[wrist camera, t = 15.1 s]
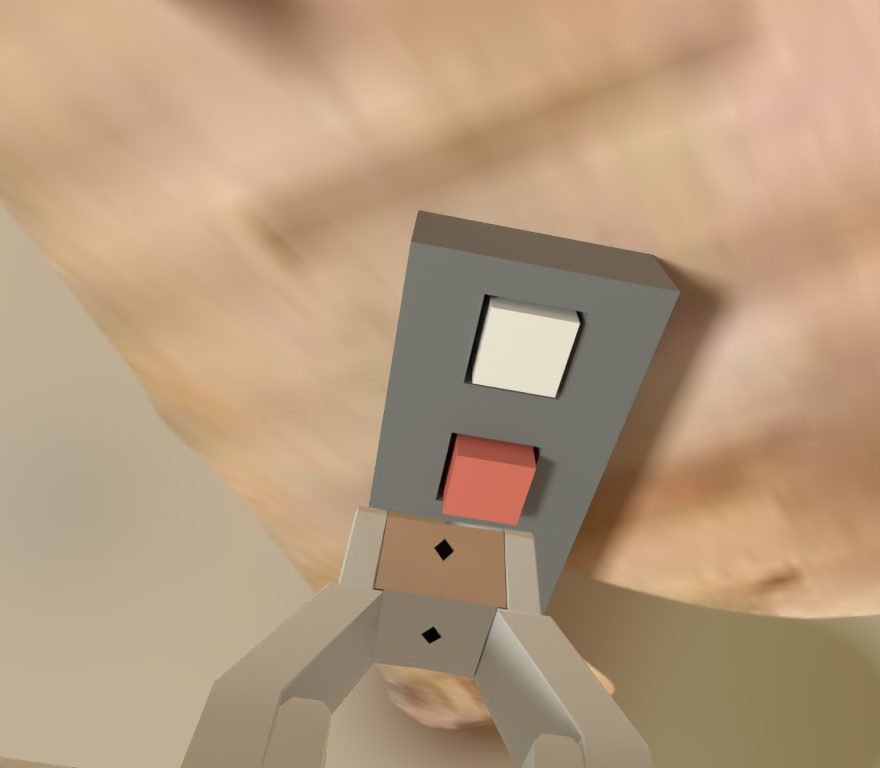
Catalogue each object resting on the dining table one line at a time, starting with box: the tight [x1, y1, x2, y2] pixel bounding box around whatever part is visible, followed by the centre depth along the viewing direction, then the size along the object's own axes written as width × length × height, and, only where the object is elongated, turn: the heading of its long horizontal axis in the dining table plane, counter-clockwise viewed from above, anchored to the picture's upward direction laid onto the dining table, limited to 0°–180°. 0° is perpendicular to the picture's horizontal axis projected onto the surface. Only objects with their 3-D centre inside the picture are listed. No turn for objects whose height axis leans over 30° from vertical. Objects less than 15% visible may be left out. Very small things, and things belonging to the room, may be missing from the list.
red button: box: [443, 433, 536, 525], centre depth 36 cm, size 4×4×5 cm
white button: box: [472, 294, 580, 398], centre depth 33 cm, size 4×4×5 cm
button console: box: [369, 211, 680, 615], centre depth 37 cm, size 13×26×5 cm, turn 170°
